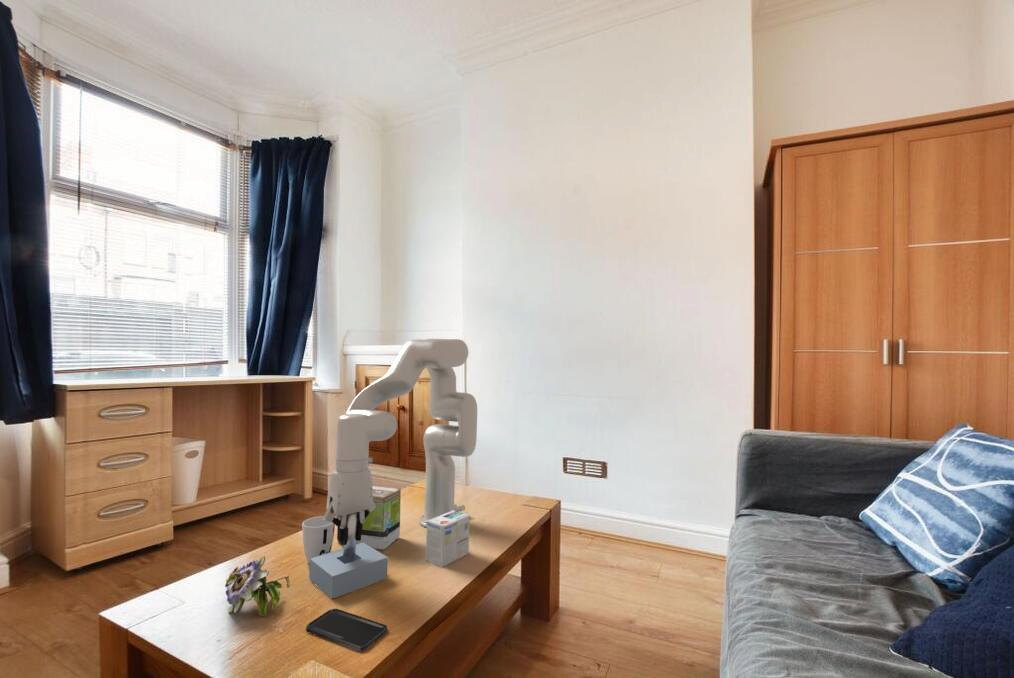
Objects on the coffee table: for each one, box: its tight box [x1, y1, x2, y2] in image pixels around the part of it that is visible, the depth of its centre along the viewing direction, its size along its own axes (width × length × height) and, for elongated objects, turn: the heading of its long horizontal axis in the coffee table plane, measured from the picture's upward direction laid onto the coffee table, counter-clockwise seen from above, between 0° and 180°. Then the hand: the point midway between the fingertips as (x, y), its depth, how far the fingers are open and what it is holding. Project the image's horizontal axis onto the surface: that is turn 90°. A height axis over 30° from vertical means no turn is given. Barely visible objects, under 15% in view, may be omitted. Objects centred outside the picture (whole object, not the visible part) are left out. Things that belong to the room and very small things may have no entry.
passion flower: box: [224, 555, 291, 618], centre depth 99 cm, size 11×11×12 cm
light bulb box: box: [425, 510, 471, 568], centre depth 124 cm, size 11×7×11 cm, turn 145°
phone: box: [305, 608, 388, 652], centre depth 91 cm, size 8×1×15 cm
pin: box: [342, 512, 357, 557], centre depth 111 cm, size 3×3×10 cm
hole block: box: [308, 543, 389, 600], centre depth 111 cm, size 14×12×5 cm
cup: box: [301, 515, 336, 564], centre depth 121 cm, size 8×8×10 cm
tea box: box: [337, 485, 402, 551], centre depth 134 cm, size 15×10×15 cm
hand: (349, 540), depth 111 cm, fingers closed on pin, 3 cm apart
